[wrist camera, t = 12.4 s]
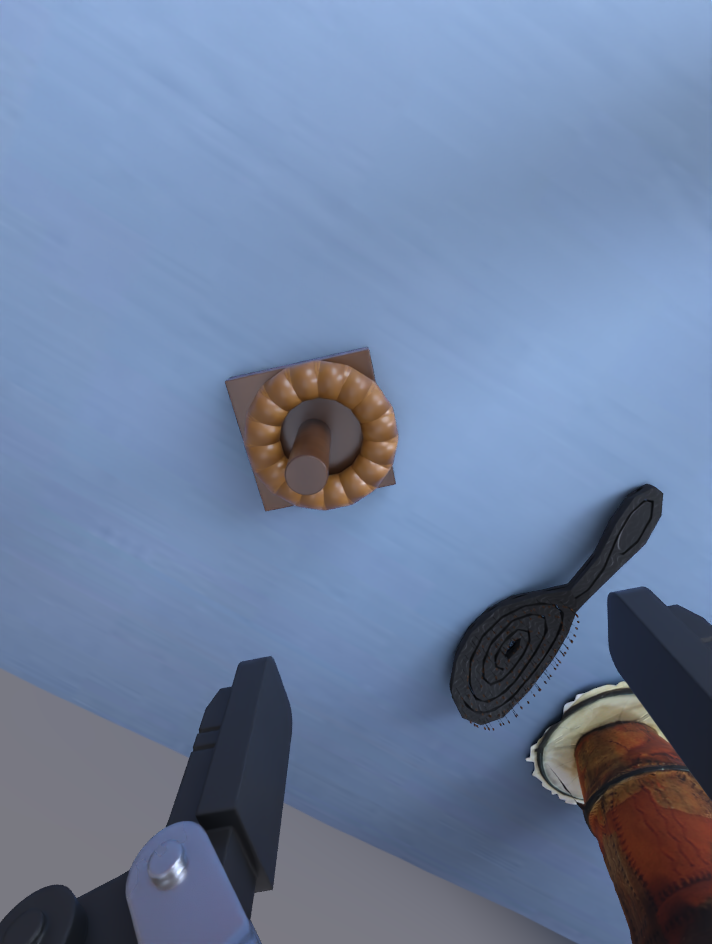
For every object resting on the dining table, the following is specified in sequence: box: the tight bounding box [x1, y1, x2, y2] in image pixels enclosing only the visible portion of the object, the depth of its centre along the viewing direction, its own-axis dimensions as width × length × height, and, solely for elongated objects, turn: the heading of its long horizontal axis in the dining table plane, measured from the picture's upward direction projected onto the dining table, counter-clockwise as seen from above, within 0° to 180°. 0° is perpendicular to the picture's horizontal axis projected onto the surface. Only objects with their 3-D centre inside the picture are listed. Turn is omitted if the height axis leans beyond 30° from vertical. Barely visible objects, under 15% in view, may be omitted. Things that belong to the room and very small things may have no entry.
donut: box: [244, 360, 398, 510], centre depth 32 cm, size 10×10×2 cm
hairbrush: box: [449, 484, 663, 731], centre depth 39 cm, size 8×4×25 cm
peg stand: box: [225, 347, 396, 511], centre depth 30 cm, size 10×10×10 cm
